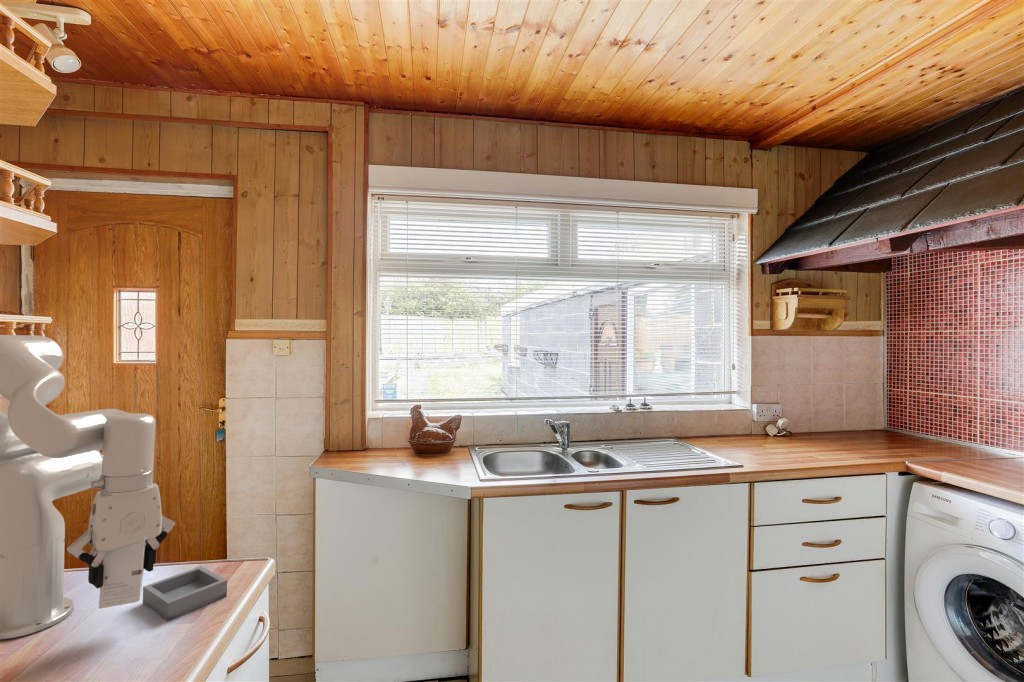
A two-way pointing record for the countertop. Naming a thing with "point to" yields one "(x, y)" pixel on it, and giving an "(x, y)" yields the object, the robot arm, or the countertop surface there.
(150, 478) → the robot arm
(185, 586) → the tray
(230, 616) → the countertop surface
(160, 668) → the countertop surface
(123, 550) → the skincare box
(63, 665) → the countertop surface
